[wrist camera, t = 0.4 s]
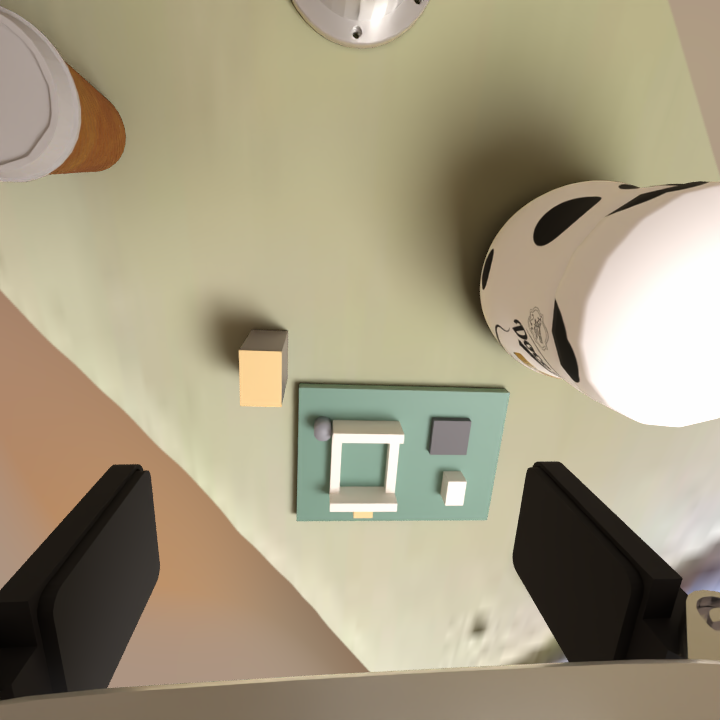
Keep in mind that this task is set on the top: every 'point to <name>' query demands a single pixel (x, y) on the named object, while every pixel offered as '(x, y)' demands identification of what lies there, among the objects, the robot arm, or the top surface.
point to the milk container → (615, 295)
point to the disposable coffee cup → (49, 110)
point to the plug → (263, 368)
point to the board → (397, 452)
